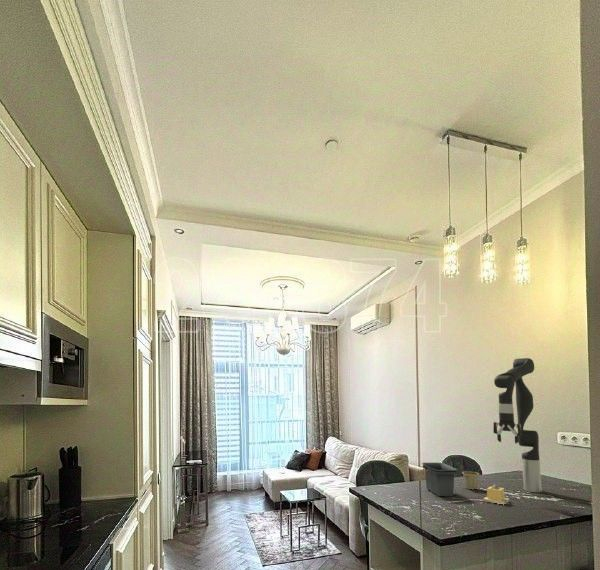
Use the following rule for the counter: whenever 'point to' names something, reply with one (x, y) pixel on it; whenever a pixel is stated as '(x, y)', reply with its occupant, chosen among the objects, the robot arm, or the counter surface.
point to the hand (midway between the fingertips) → (508, 442)
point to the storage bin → (439, 478)
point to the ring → (495, 493)
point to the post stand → (496, 500)
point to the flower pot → (471, 479)
